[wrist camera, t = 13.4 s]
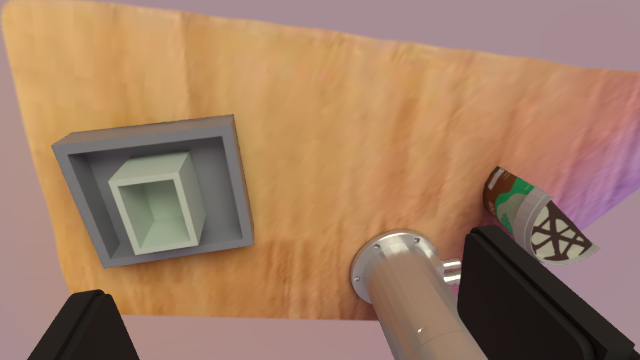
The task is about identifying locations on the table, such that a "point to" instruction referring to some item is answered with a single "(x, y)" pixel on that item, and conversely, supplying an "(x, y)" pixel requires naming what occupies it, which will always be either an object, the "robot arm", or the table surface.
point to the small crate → (159, 201)
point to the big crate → (124, 142)
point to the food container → (535, 220)
